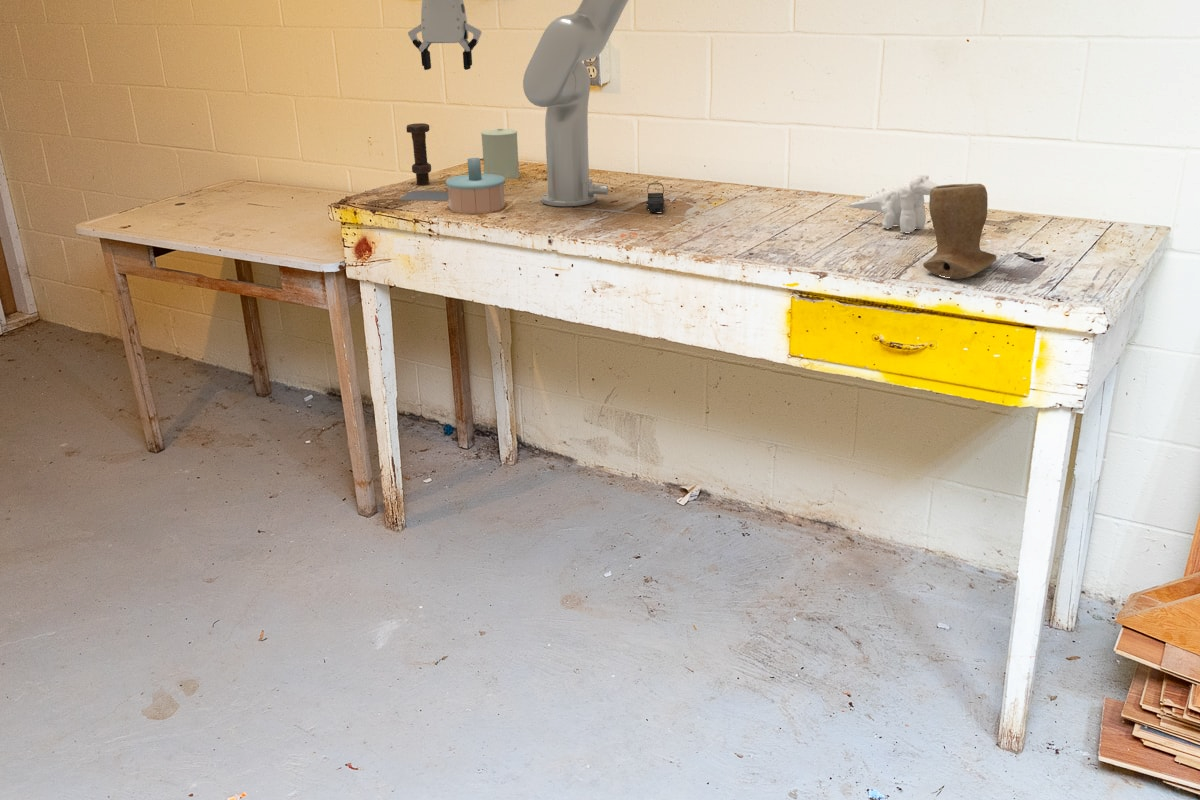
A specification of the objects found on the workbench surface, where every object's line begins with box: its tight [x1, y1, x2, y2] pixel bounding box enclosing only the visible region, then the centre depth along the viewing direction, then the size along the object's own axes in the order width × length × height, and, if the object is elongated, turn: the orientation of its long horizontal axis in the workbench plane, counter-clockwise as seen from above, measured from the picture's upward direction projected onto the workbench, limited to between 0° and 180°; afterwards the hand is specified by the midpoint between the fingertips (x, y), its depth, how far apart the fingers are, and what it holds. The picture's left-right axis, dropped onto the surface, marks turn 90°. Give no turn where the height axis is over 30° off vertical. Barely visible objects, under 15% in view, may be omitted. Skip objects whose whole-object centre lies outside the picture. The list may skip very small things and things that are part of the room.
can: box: [480, 128, 521, 180], centre depth 266 cm, size 9×9×12 cm
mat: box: [397, 190, 449, 202], centre depth 247 cm, size 12×10×1 cm
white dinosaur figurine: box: [844, 174, 940, 233], centre depth 208 cm, size 7×24×11 cm, turn 45°
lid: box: [445, 157, 506, 189], centre depth 231 cm, size 13×13×5 cm
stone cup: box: [922, 183, 997, 280], centre depth 180 cm, size 15×12×15 cm
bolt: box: [405, 122, 432, 186], centre depth 257 cm, size 6×5×15 cm
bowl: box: [447, 184, 506, 215], centre depth 234 cm, size 12×12×6 cm
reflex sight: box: [645, 182, 665, 213], centre depth 230 cm, size 4×10×5 cm, turn 178°
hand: (447, 69), depth 244 cm, fingers open, 9 cm apart
